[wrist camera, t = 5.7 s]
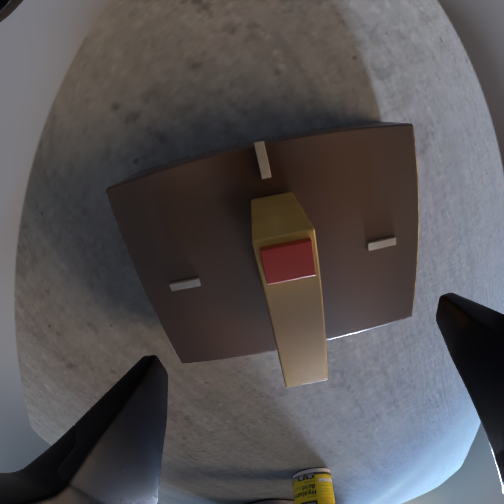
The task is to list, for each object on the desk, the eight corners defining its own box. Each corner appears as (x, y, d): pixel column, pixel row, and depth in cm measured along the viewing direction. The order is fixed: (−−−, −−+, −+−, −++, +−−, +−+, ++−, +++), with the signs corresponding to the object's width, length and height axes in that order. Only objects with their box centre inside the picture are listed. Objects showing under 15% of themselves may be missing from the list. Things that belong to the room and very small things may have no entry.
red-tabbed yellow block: (310, 315, 13) (329, 384, 9) (277, 321, 13) (286, 393, 9) (291, 191, 11) (317, 231, 7) (250, 199, 11) (251, 244, 7)
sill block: (190, 331, 17) (182, 367, 14) (130, 173, 13) (101, 187, 10) (391, 289, 16) (413, 320, 13) (382, 119, 12) (415, 121, 9)
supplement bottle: (312, 465, 28) (321, 527, 19) (337, 468, 30) (347, 524, 21) (283, 476, 30) (288, 533, 21) (309, 480, 31) (315, 532, 23)
